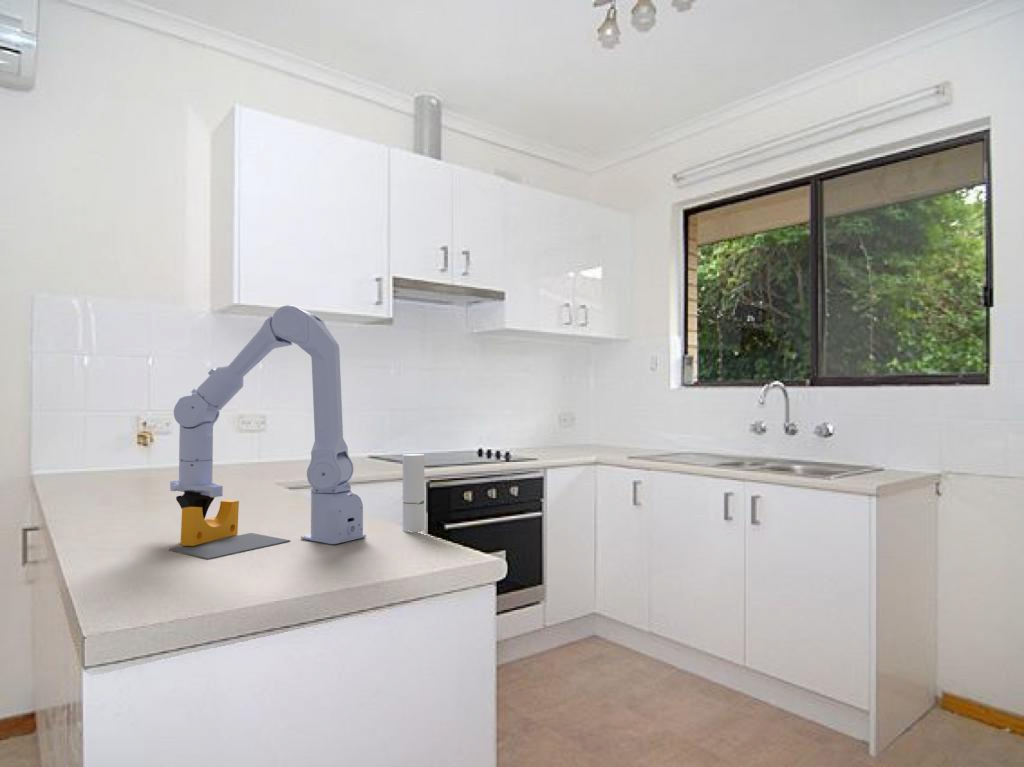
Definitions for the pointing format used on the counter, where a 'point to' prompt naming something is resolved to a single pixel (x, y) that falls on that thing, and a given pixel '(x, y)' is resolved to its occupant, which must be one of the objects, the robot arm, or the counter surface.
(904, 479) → the counter surface
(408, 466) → the tube
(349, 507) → the robot arm
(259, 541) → the mat
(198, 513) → the pipe clamp
